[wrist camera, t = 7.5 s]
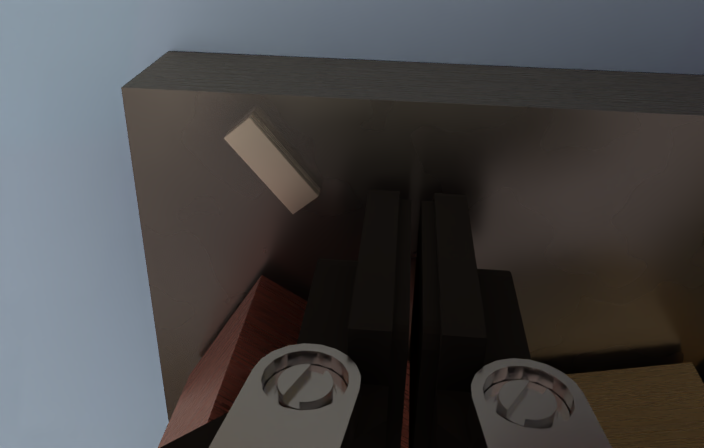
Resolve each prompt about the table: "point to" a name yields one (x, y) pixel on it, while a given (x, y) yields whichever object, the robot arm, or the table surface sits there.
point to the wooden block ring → (284, 327)
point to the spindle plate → (425, 191)
